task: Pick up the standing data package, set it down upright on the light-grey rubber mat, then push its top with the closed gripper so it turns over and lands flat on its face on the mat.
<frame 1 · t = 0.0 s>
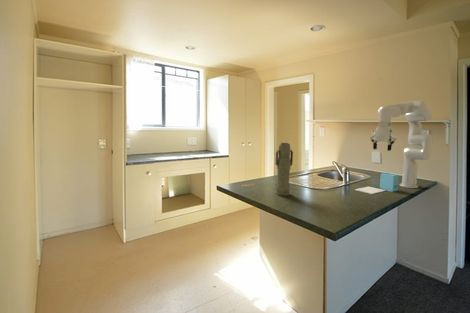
hand: (381, 149, 186), 31 cm above the countertop, fingers open, 9 cm apart
mat: (370, 190, 199), on the countertop
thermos: (282, 194, 184), on the countertop
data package: (388, 190, 201), on the countertop
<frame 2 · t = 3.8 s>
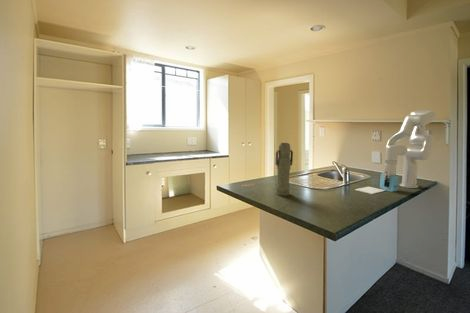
hand: (388, 186, 201), 3 cm above the countertop, fingers closed on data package, 5 cm apart
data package: (388, 190, 201), on the countertop, touching gripper
everything else where it was.
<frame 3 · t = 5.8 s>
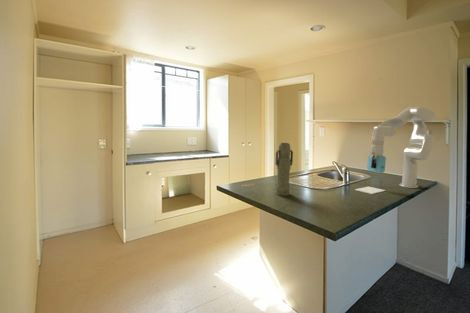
hand: (375, 167, 199), 17 cm above the countertop, fingers closed on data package, 5 cm apart
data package: (375, 171, 199), point 14 cm above the countertop, touching gripper
everything else where it was.
when the fingers open (4 cm above the countertop, at t = 7.9 s): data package stays where it is, resting on mat.
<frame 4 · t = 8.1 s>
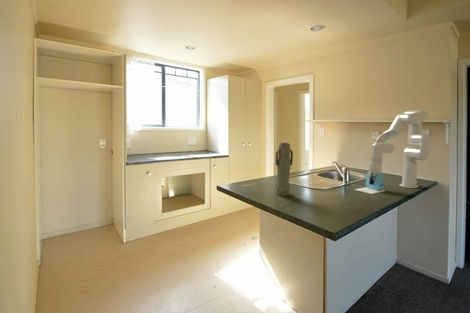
hand: (374, 183, 201), 5 cm above the countertop, fingers open, 6 cm apart
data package: (374, 189, 201), resting on mat
everything else where it was.
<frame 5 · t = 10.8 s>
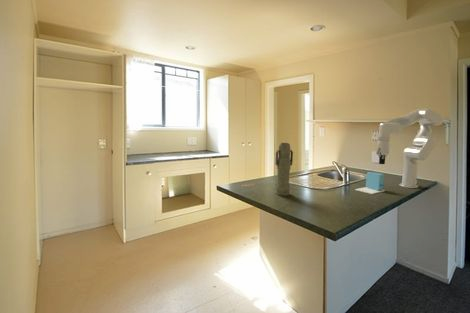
hand: (381, 163, 203), 19 cm above the countertop, fingers closed
nothing on the countertop moved.
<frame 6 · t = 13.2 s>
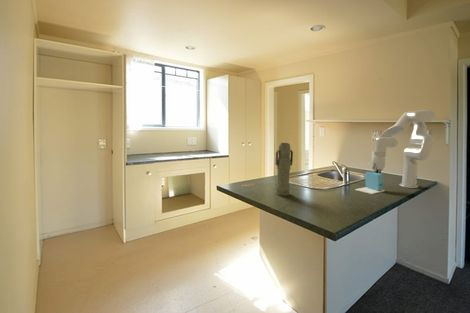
hand: (377, 178, 202), 8 cm above the countertop, fingers closed
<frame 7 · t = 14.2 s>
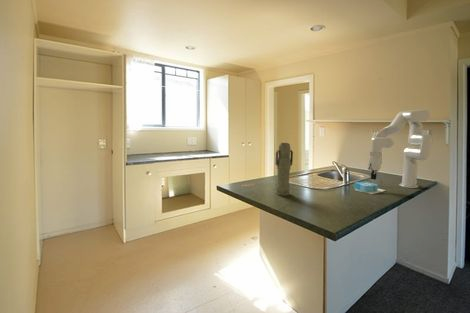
hand: (373, 179, 199), 8 cm above the countertop, fingers closed
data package: (372, 186, 200), point 3 cm above the countertop, touching mat
everything else where it was.
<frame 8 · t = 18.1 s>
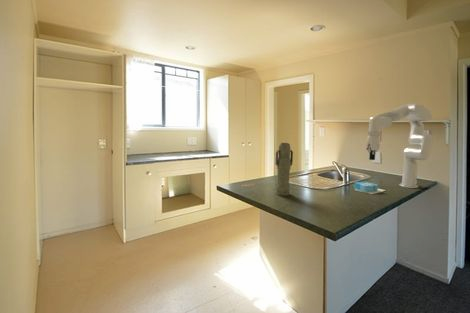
hand: (372, 159, 195), 23 cm above the countertop, fingers closed
nothing on the countertop moved.
at the end: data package tilted 90°; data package inside the target area on the mat (4.1 cm from its centre), point 2.9 cm above the mat's base; the gripper is holding nothing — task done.
